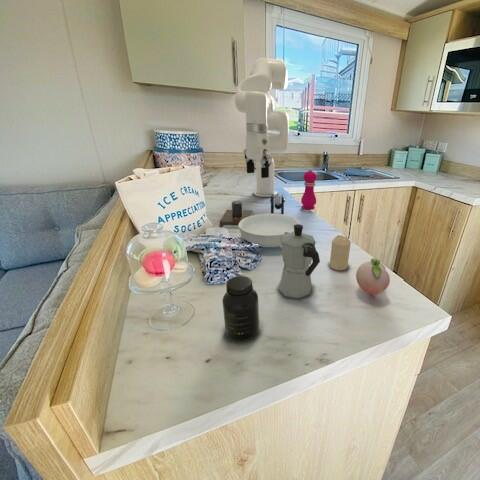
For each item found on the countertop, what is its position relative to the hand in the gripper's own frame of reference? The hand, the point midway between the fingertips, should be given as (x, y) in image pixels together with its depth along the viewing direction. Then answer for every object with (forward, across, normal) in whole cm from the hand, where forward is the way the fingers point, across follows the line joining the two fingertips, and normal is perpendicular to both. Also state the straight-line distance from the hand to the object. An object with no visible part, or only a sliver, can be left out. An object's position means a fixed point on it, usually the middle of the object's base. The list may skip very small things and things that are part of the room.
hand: (257, 175), depth 109 cm
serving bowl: (+19, -21, +10) cm, 29 cm away
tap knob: (+16, +2, +9) cm, 18 cm away
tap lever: (+12, -6, -5) cm, 15 cm away
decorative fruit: (+19, -62, +9) cm, 66 cm away
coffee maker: (+19, -49, +22) cm, 57 cm away
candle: (+19, -48, +4) cm, 52 cm away
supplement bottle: (+19, -52, +41) cm, 69 cm away
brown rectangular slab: (+18, +2, +9) cm, 20 cm away
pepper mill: (+18, -4, -26) cm, 32 cm away
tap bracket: (+18, -9, -3) cm, 21 cm away
